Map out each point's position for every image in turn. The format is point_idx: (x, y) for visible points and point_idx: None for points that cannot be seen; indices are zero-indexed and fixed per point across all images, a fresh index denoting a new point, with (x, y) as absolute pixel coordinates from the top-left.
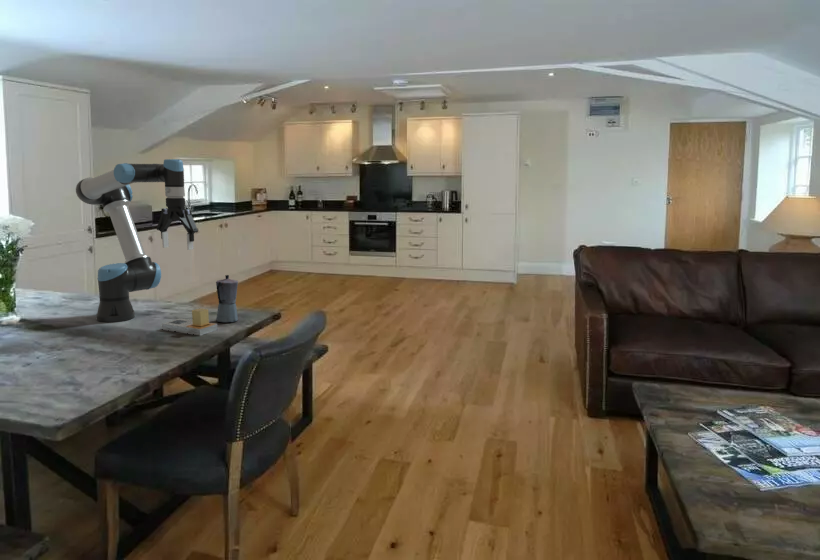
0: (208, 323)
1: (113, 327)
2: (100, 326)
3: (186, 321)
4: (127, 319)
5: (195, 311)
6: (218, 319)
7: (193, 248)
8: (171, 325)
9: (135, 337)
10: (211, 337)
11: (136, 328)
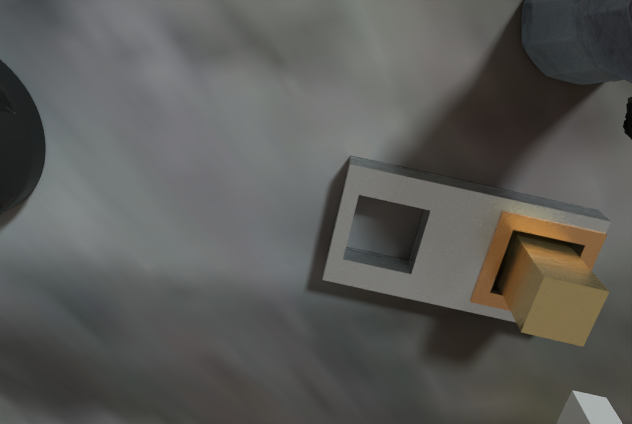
0: (574, 255)
1: (91, 280)
2: (26, 278)
3: (415, 205)
4: (43, 156)
5: (545, 335)
6: (553, 77)
7: (611, 409)
8: (385, 293)
9: (293, 387)
10: (617, 329)
11: (198, 273)
